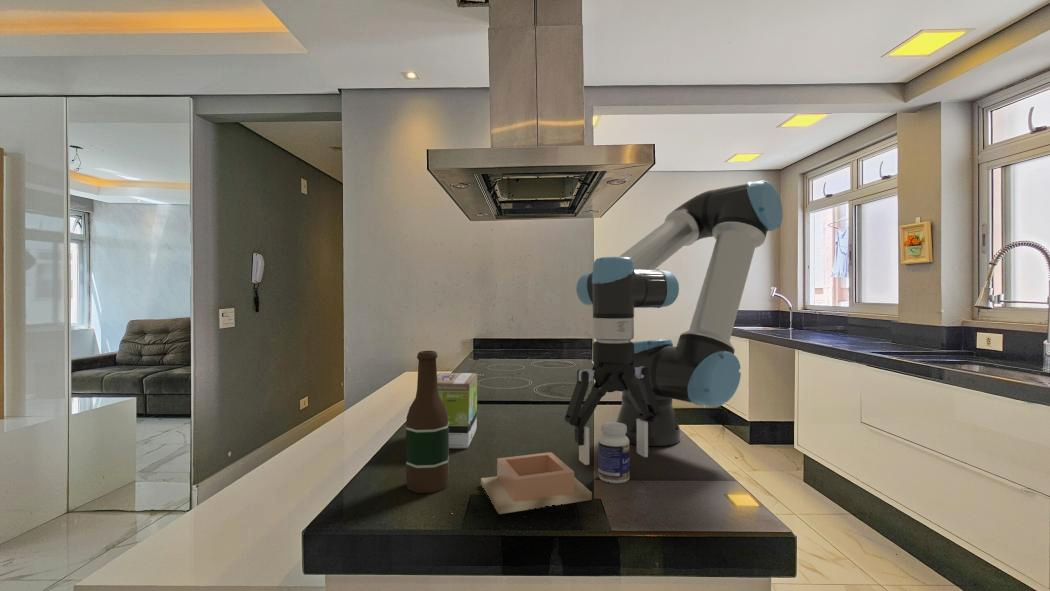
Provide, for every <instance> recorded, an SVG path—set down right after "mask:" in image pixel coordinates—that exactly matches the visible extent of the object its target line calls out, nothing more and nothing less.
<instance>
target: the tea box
mask: <svg viewBox="0 0 1050 591" xmlns="http://www.w3.org/2000/svg"><path fill="white" fill-rule="evenodd" d="M437 381H438V390H439V396H440V397H441V398H442V400H443V401H444V403H445V405H446V408H447V410H448V419H449V449H468V448H469V447H470V444H471V442H472V440H473V437H474V436H475V434H476V431H477V428H478V427H477V422H478V421H477V415H478V409H477V408H478V373H477V372H473V373H472V372H439V373H437Z"/></svg>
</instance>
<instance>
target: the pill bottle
mask: <svg viewBox="0 0 1050 591" xmlns="http://www.w3.org/2000/svg"><path fill="white" fill-rule="evenodd" d="M600 424H601V425H600V431H601V433H602V434H601V435H600V436H599V438H598V443H597V444H598V445H597V446H598V449H597V450H598V451H597V452H598V454H597V455H598V457H597V458H598V462H597V467H598V468H597V472H598V477H599V479H600V480H601V481H603V482H605V483H608V482H609V484H623V483H627V482H628V481H629V480H630V447H631V446H630V444H631V443H629V439H628V438H627V437H626V436H625V434H626V432H627V426H626V425H625V424H623V423H618V422H616V421H604V422H602V423H600Z"/></svg>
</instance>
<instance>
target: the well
mask: <svg viewBox="0 0 1050 591" xmlns="http://www.w3.org/2000/svg"><path fill="white" fill-rule="evenodd" d="M496 462H497V463H496V464H497V465H496V469H497V470H496V476H497V478H498V480H499V481H500V482H501V484H502V485H503V487H504V488H505V489H506V491H507V492H508V494H509V495H510V496H511V498H512V499H513V501H514V502H517V501H524V500H530V499H537V498H544V497H551V496H557V495H564V494H571V493H574V477H575V471H574V470H573V469H571V467H569V466H568V465H567V464H566V463H564V461H562V460H561V459H560V458H559V457H557V455H555V454H554V453H553V452H542V453H533V454H532V453H531V454H525V455H523V454H522V455H516V456H507V457H500V458H499V457H498V458H497V459H496Z"/></svg>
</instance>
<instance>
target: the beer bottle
mask: <svg viewBox="0 0 1050 591" xmlns="http://www.w3.org/2000/svg"><path fill="white" fill-rule="evenodd" d="M438 356H439V355H438V353H437V351H436V350H421V351H419V352H418V353H417V355H416V359H417V360H418V366H417V382H416V384H417V385H416V394H415V398H414V400H413V402H412V403H411V404H410V407H409V409H408V412H407V414H406V422H405V461H406V462H405V465H406V467H405V471H406V472H405V473H406V474H405V475H406V476H405V477H406V480H405V481H406V488H407V490H409V491H411V492H414V493H416V494H434V493H436V492H439V491H442V490H444V489H447V487H448V484H449V479H450V477H449V476H450V472H449V471H450V450H449V449H450V448H449V419H448V410H447V408H446V405H445V403H444V401H443V400H442V398H441V397H440V396H439V390H438V381H437V375H438V369H437V358H438Z"/></svg>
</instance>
